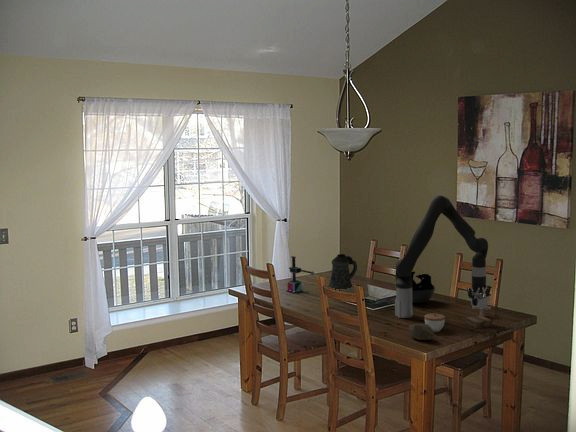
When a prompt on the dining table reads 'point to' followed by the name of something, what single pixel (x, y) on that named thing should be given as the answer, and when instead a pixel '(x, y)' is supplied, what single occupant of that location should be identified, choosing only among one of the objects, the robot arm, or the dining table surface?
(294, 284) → the magnetic base gauge holder
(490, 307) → the pipe connector
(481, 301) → the housing
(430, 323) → the lidded jar
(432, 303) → the dining table surface
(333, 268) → the beer stein
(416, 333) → the stone
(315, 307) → the dining table surface
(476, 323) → the stand
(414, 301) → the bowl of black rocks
